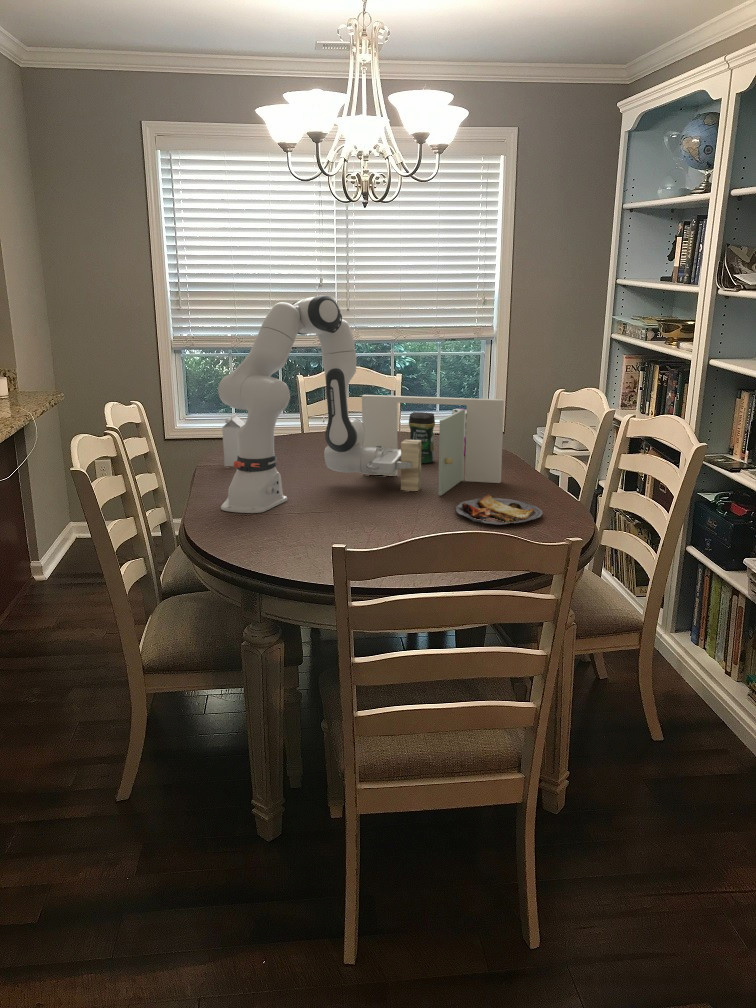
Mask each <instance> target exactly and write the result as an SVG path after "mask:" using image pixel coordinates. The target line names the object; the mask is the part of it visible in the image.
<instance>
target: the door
mask: <svg viewBox="0 0 756 1008" xmlns="http://www.w3.org/2000/svg"><path fill="white" fill-rule="evenodd" d="M461 409H462V410H460V411H458V412H456V413H454V414H450V415H447V416H446V417H443V418H441V419H439V430H438V431H439V437H438V438H439V439H438V440H439V441H438V442H439V444H438V445H439V446H438V448H439V449H438V493H437V494H438V496H442V495H444V494H445V493H446V492H448V491H449V490H451V489H452V488H454V487H455V486H456V485H458V484H459V483H460V482H462V481H463V480H464V471H465V456H464V455H465V454H464V431H465V410H466V409H465V408H461Z"/></svg>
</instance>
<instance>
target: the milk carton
mask: <svg viewBox="0 0 756 1008" xmlns="http://www.w3.org/2000/svg"><path fill="white" fill-rule="evenodd" d="M224 421H225V424H224V425H223V426H222V432H221V433H222V443H223V444H222V445H223V446H222V447H223V461H224V462H223V463H224V464H223V465H224V467H225V466H234V465H233V463H234V461H237V456H238V455H239V454H238V435H237V434H238V430H239V429H240V428H241V427H242V426H243V425H245V423H246V422H244V420H242V419H241V418H240V417H239V416H238V415H237V412H235V413H234V414H232V415H230V417H228V418H227V419H225V420H224Z"/></svg>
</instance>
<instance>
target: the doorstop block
mask: <svg viewBox="0 0 756 1008" xmlns="http://www.w3.org/2000/svg"><path fill="white" fill-rule="evenodd" d="M400 449H401V462H412V467H411V468H403V469H400V491H401V490H409V491H418V490H419V491H420V489H421V488H422V487H421V486H422V485H421V484H422V482H421V481H422V463H421V440H410V439H406V438H405V439H404V440H402V441H401V442H400ZM420 487H421V488H420ZM409 491H408V492H409ZM419 491H418V492H419Z"/></svg>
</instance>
